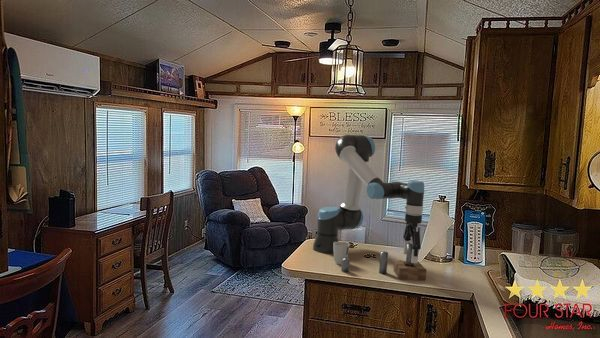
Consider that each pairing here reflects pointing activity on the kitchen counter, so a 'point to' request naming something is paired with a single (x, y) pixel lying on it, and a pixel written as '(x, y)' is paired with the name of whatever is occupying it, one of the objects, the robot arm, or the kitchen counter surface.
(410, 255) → the pin long
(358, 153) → the robot arm
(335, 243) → the cup
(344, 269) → the pin short
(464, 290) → the kitchen counter surface
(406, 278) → the hole block
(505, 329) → the kitchen counter surface
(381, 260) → the pin medium
